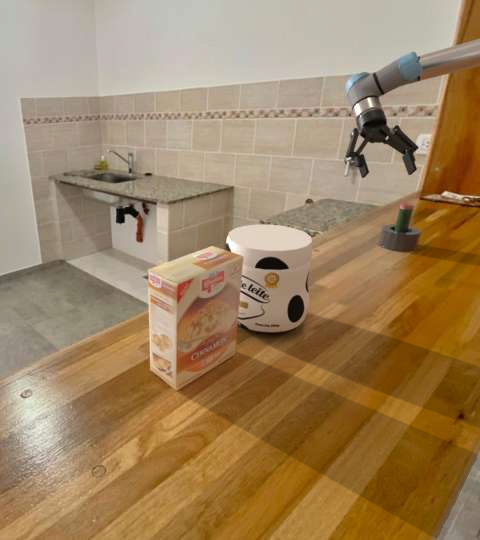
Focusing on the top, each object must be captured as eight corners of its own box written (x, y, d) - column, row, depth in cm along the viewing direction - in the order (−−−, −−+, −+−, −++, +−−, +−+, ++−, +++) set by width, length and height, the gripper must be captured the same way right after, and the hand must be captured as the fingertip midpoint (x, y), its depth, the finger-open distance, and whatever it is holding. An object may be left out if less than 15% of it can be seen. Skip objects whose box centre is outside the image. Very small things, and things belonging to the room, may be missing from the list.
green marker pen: (403, 243, 110) (413, 203, 106) (403, 247, 108) (414, 205, 103) (390, 242, 112) (400, 202, 107) (391, 245, 110) (401, 205, 105)
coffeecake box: (177, 392, 61) (177, 283, 53) (148, 370, 66) (145, 268, 58) (237, 354, 69) (245, 255, 61) (207, 337, 74) (211, 244, 66)
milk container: (213, 335, 75) (217, 250, 68) (221, 294, 90) (225, 221, 82) (310, 347, 69) (326, 256, 62) (301, 302, 84) (313, 224, 77)
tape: (414, 242, 111) (419, 226, 109) (417, 253, 104) (422, 236, 102) (378, 238, 116) (381, 223, 114) (378, 248, 109) (382, 232, 107)
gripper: (402, 122, 123) (423, 178, 115) (323, 128, 124) (339, 183, 116) (418, 105, 116) (441, 163, 108) (334, 110, 117) (352, 168, 109)
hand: (389, 173), depth 112 cm, fingers open, 13 cm apart
